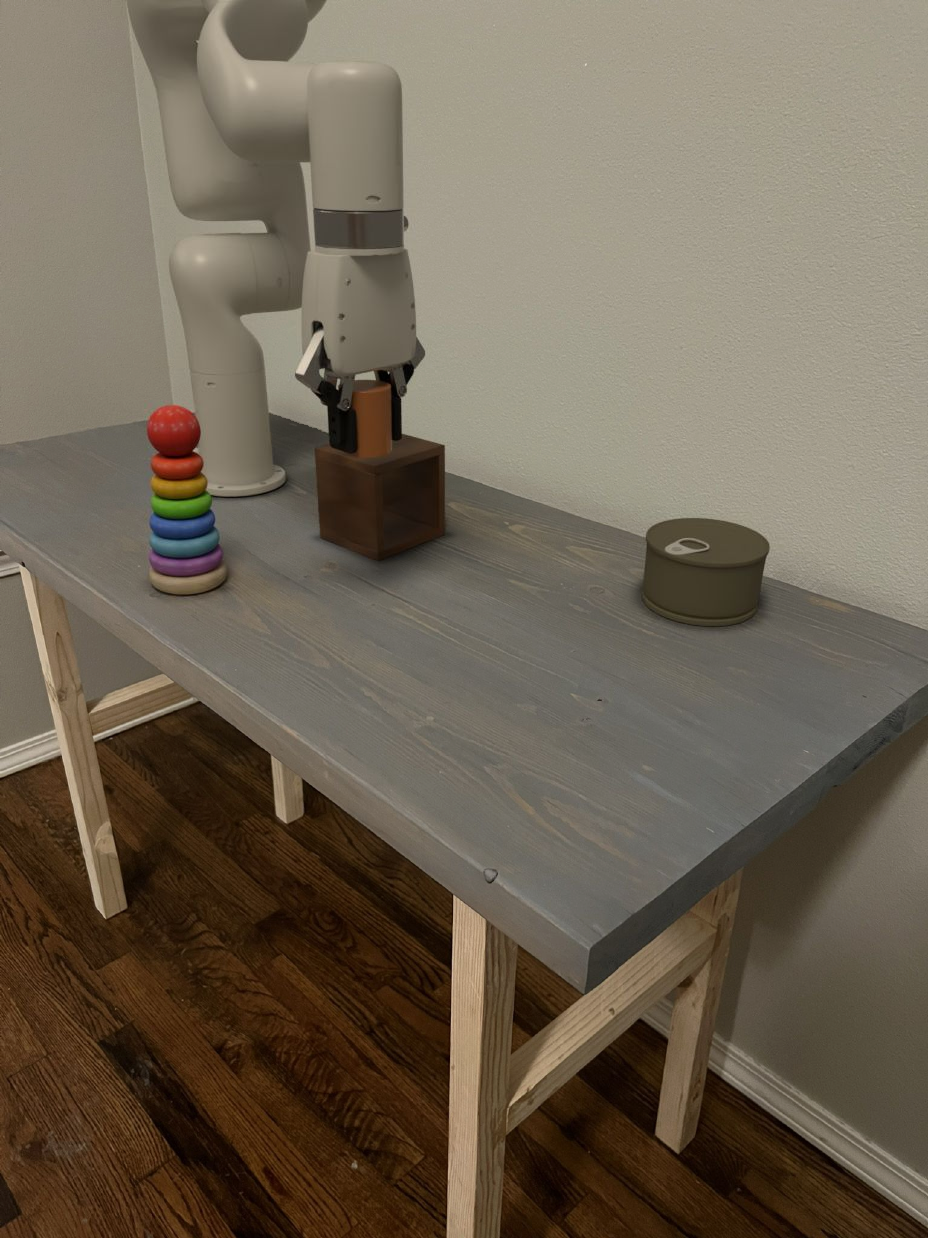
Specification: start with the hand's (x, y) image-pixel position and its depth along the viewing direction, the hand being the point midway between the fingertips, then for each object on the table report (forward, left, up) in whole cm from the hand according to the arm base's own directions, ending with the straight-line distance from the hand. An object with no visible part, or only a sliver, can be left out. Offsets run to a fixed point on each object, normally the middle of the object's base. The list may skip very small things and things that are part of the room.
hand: (366, 441), depth 86 cm
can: (+24, +23, -17) cm, 38 cm away
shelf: (-13, +13, -17) cm, 25 cm away
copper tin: (0, 0, -1) cm, 1 cm away
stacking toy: (-18, -10, -17) cm, 27 cm away
